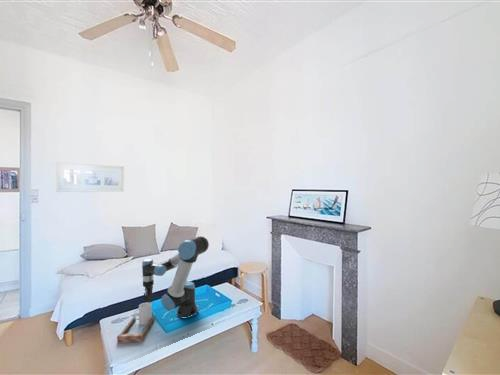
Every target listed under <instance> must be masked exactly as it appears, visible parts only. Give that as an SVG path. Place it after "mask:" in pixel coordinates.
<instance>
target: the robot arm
mask: <svg viewBox="0 0 500 375" xmlns="http://www.w3.org/2000/svg"><path fill="white" fill-rule="evenodd" d="M209 245H210V244H209V240H208V239H207V238H206V237H204V236H199V235H198V236H196V237H194V238H190V239H186V240H184V241H182V242H181V243H180V244H179V246H178V248H177V252H178V253H176V254H175V255H174V256H172V257H171V258H169V259H167V260H164V261H162V262H158V263H155V262H154V260H153V258H147V259H143V260H142V261H141V264H142V265H141V267H142V271H141V272H142V275H141V277H142V287H144V292H143V295H144V303H146V302H149V303H151V304H152V302H153V291H154V290H153V289H154V284H155V283H154V275H155V276H159V277H162V276H164V275H165V274H166V272H168V271H170V270H174V269H175V268H177V269H176V271H175V275H174V277H173V280H172V283H171V285H169V287H168V288H167V291H166V293H164V294H163V295H162V296H161V297H160V302H161V304H162V306H163V309H165V311H168V312H171V311H173V310H176V308H177V311H176V316H177V317H178V316H179V317H188V316H191V315H194V314H195V313H197V312H199V310H198V306H197V302H196V287H195V286H196V285H195V282H192V281H187V280H188V278H189V275H190V272H191V270H192V267H193V264H194V263H196V262H197V259H198V257H199V256H200V255H202V254H204V253H205V252H206V251H207V250H208V249H209V247H210V246H209ZM197 314H198V313H197ZM179 317H178V318H179Z"/></svg>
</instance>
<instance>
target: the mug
mask: <svg viewBox="0 0 500 375" xmlns="http://www.w3.org/2000/svg"><path fill="white" fill-rule="evenodd" d="M136 312H138V317H139V318H137V317H136V316H135V314H136ZM152 316H153V314H152V302H151V303H149V302H146V303H145V302H142V303H140V304H139V305H138V308H137V309H136V310H134V312H133V317H134V318H135V317H136V318H135V319H136V321H139V322H138V324H139V325H141V326H147V324H148V323H149V321H150V320H151V318H152Z"/></svg>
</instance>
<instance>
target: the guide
mask: <svg viewBox="0 0 500 375" xmlns="http://www.w3.org/2000/svg"><path fill="white" fill-rule="evenodd" d="M135 318H137V317H136V316H135ZM135 318H134V316H133V317H132V318H131V319H130V321H129V322H128V324H127V325H126V326H125V327H124V329H123V330H122V331H121V333H119V334H117V336H116V338H117V340H116V342H117V344H120V343H121V344H122V343H124V344H126V343H143V341H144V339H145V338H146V336H147V334H148V333H149V330H150V329H151V328H152V326H153V324H154V323H155V320H156V316H153V315H152V318H151V320H150V321H149V323H148V324H146V325H145V327H144V329H143V331H142V332H141V333H128V332H129V331H130V330H131V328H132V327H133V325H134V324H135V323H136V321H137V320H136V319H135ZM127 333H128V334H127Z"/></svg>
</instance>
